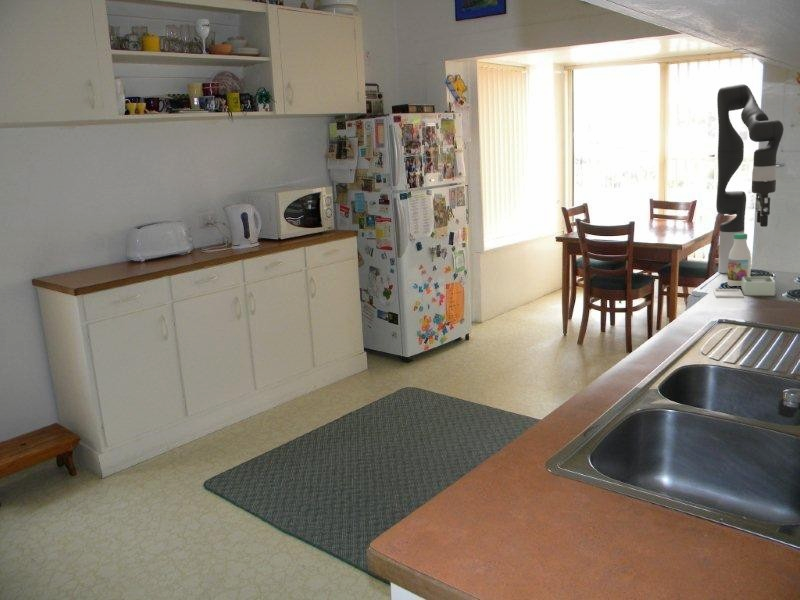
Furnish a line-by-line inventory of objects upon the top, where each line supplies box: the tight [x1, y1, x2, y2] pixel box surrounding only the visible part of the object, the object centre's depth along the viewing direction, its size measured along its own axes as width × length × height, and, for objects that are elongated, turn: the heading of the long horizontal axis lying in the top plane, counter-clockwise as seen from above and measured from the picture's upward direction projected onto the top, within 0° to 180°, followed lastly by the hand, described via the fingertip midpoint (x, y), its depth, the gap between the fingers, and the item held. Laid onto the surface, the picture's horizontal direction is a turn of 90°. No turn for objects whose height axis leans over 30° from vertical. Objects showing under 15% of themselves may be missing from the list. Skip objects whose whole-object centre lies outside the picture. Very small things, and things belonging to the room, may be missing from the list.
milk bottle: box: [727, 232, 752, 287], centre depth 261 cm, size 8×8×20 cm
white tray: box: [712, 288, 745, 299], centre depth 251 cm, size 11×9×1 cm
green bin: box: [740, 276, 776, 297], centre depth 250 cm, size 10×10×5 cm
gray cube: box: [750, 279, 766, 282], centre depth 250 cm, size 5×5×5 cm
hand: (762, 224), depth 248 cm, fingers open, 8 cm apart
